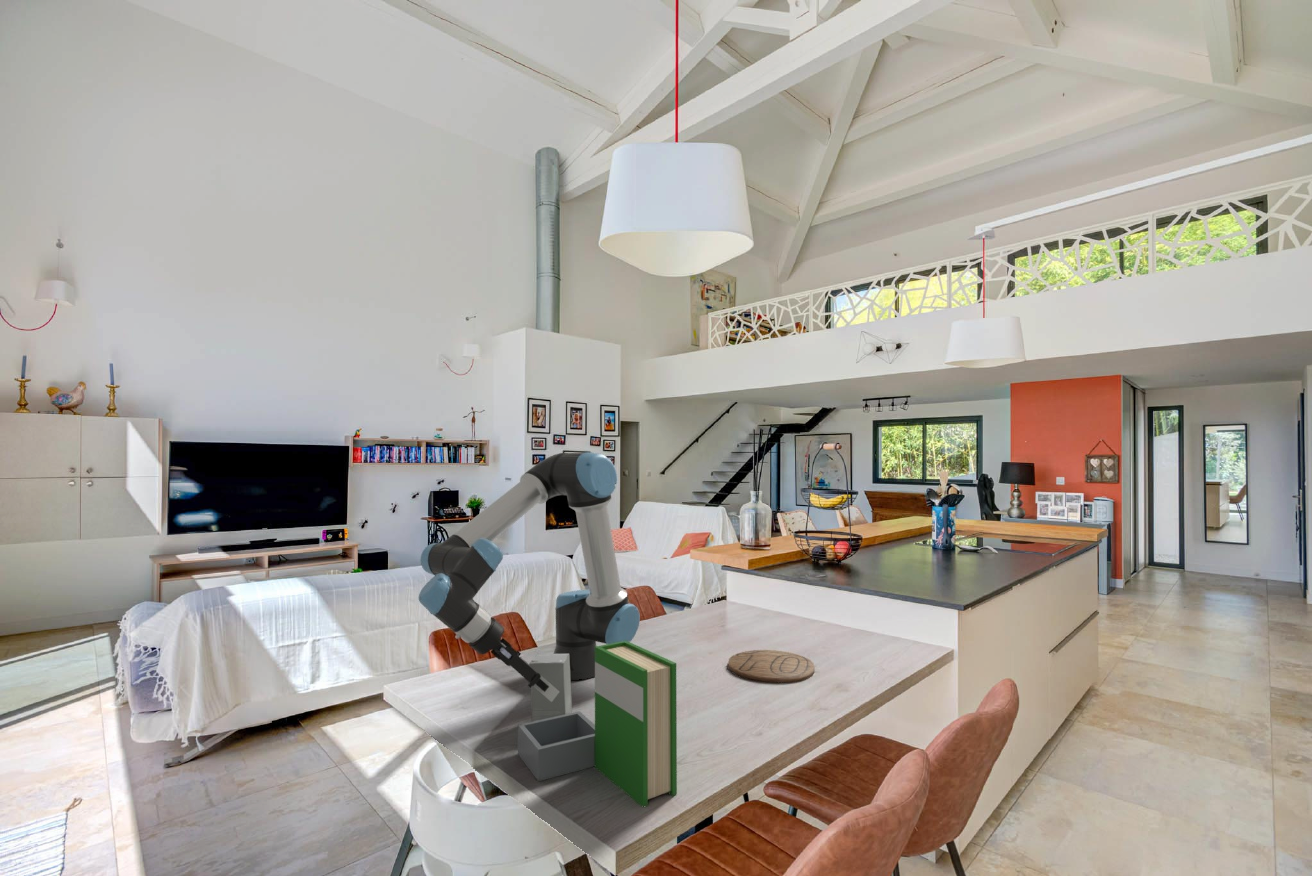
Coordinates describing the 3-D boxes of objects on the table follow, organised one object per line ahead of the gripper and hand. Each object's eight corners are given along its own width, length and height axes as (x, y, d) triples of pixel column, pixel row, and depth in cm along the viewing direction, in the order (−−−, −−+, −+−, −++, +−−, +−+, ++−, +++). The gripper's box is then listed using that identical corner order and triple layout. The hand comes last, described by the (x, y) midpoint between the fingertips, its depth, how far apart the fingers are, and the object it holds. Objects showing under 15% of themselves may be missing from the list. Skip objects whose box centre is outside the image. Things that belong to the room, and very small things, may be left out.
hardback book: (676, 794, 116) (676, 663, 116) (643, 807, 111) (643, 671, 112) (626, 757, 130) (625, 640, 131) (594, 767, 126) (594, 646, 127)
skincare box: (572, 719, 149) (572, 652, 149) (565, 732, 142) (565, 661, 142) (537, 718, 150) (537, 651, 150) (528, 731, 143) (528, 660, 143)
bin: (517, 753, 132) (517, 724, 132) (579, 738, 139) (579, 711, 139) (538, 781, 120) (538, 749, 120) (604, 763, 127) (604, 733, 127)
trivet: (720, 679, 176) (720, 672, 176) (736, 652, 200) (736, 646, 200) (812, 688, 169) (811, 681, 169) (816, 660, 193) (816, 654, 193)
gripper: (455, 630, 147) (517, 683, 154) (481, 660, 126) (552, 720, 133) (478, 605, 150) (538, 658, 157) (508, 629, 129) (576, 690, 135)
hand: (544, 686), depth 145 cm, fingers open, 13 cm apart
